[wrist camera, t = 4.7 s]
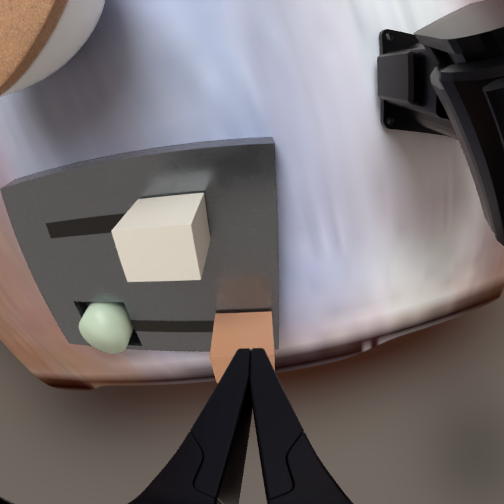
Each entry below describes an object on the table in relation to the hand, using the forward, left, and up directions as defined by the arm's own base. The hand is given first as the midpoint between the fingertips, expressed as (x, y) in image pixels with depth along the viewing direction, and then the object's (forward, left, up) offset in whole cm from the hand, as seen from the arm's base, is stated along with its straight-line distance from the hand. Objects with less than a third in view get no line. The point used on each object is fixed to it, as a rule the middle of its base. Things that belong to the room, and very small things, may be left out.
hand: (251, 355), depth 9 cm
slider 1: (+5, -1, -10) cm, 11 cm away
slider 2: (+1, +8, -10) cm, 13 cm away
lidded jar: (+12, -16, -12) cm, 23 cm away
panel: (+9, +3, -12) cm, 15 cm away
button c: (+13, +8, -11) cm, 19 cm away
